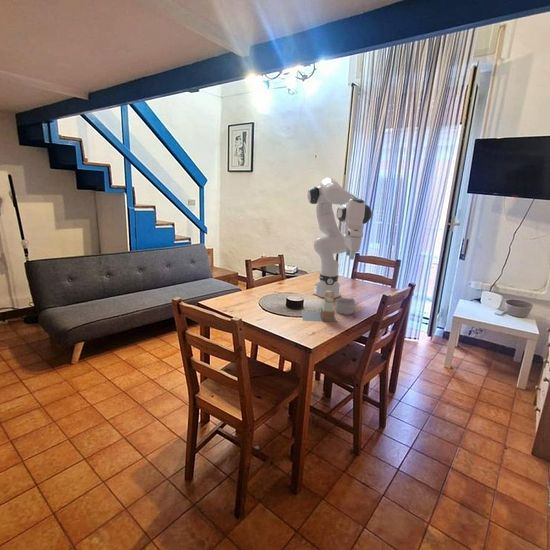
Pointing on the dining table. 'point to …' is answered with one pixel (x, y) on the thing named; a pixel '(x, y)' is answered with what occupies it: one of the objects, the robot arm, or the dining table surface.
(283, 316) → the dining table surface
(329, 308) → the sage top block
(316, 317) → the slate board
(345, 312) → the teacup
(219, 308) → the dining table surface
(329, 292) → the beech cylinder
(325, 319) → the walnut base block
